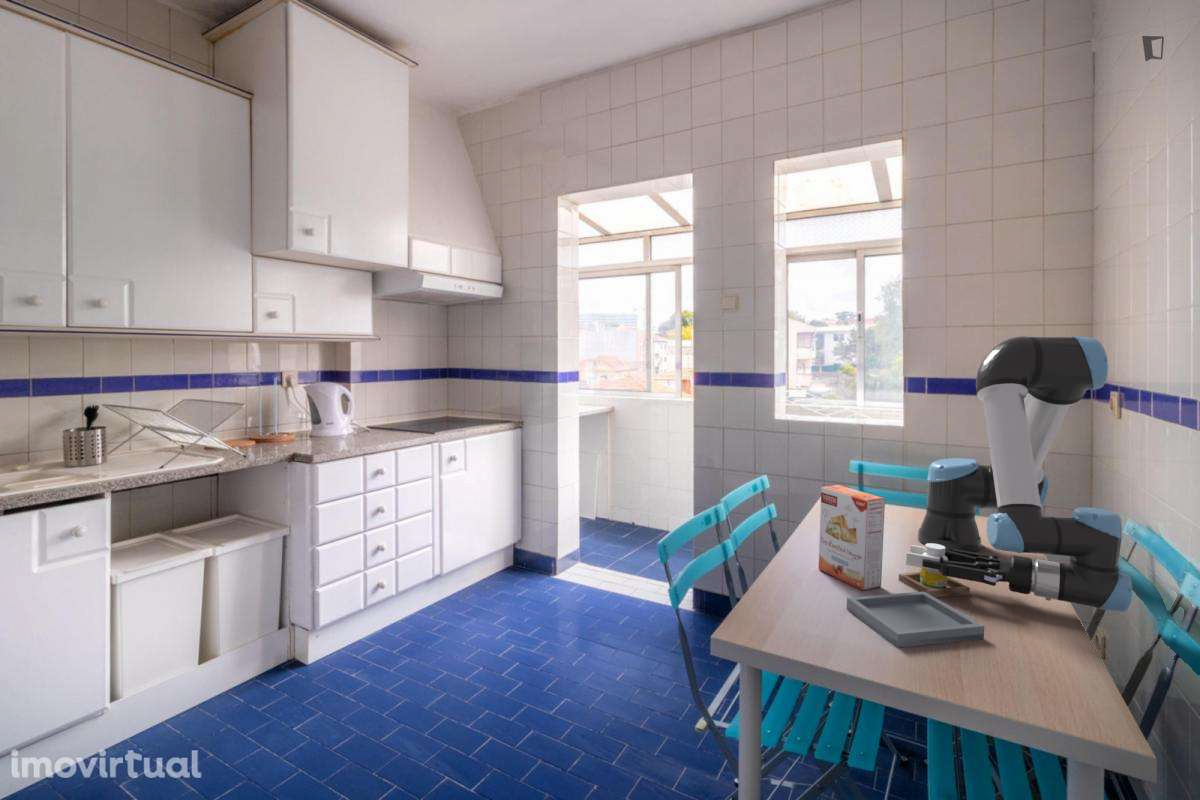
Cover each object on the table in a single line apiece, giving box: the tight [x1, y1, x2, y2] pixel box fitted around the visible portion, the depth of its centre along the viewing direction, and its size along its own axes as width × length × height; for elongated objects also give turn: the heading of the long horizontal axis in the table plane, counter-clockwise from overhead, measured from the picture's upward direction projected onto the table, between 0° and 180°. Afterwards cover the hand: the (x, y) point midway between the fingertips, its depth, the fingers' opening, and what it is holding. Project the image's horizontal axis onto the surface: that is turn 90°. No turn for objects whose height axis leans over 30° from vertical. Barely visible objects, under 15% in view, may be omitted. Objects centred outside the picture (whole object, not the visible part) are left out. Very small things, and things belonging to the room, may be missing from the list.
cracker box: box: [818, 484, 886, 591], centre depth 140 cm, size 14×6×21 cm, turn 23°
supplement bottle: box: [919, 543, 948, 589], centre depth 136 cm, size 5×5×10 cm
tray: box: [846, 591, 986, 648], centre depth 119 cm, size 18×16×2 cm
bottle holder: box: [898, 571, 971, 598], centre depth 136 cm, size 10×10×2 cm
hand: (908, 554), depth 139 cm, fingers closed on supplement bottle, 5 cm apart
